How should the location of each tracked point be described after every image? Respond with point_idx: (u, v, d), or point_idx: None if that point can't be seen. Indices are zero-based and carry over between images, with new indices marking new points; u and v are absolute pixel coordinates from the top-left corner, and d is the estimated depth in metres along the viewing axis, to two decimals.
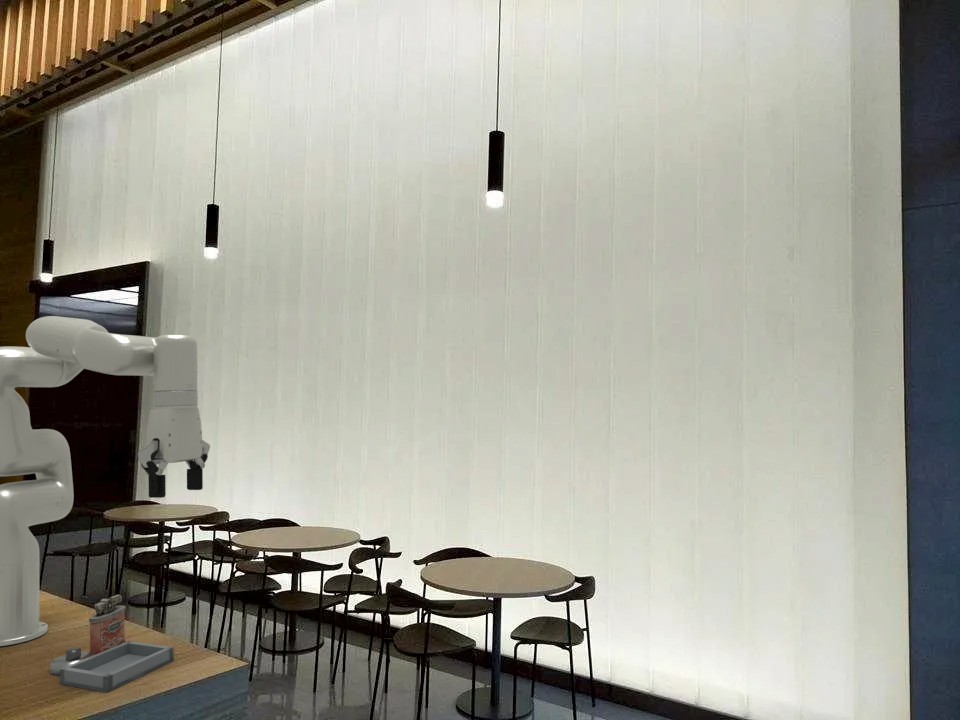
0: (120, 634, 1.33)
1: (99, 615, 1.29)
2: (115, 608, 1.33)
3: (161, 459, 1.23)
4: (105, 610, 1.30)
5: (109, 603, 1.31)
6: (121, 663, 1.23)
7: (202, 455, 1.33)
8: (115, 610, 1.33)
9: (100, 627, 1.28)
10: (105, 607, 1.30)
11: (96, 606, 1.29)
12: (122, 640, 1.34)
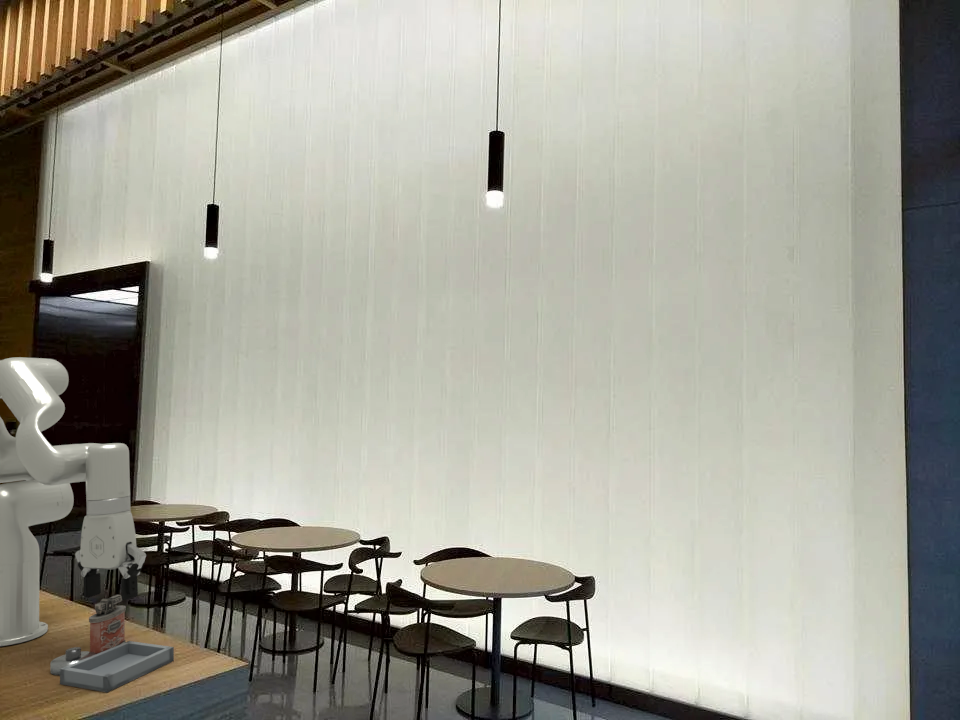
0: (120, 634, 1.33)
1: (99, 615, 1.29)
2: (115, 608, 1.33)
3: (130, 561, 1.31)
4: (105, 610, 1.30)
5: (109, 603, 1.31)
6: (121, 663, 1.23)
7: None
8: (115, 610, 1.33)
9: (100, 627, 1.28)
10: (105, 607, 1.30)
11: (96, 606, 1.29)
12: (122, 640, 1.34)
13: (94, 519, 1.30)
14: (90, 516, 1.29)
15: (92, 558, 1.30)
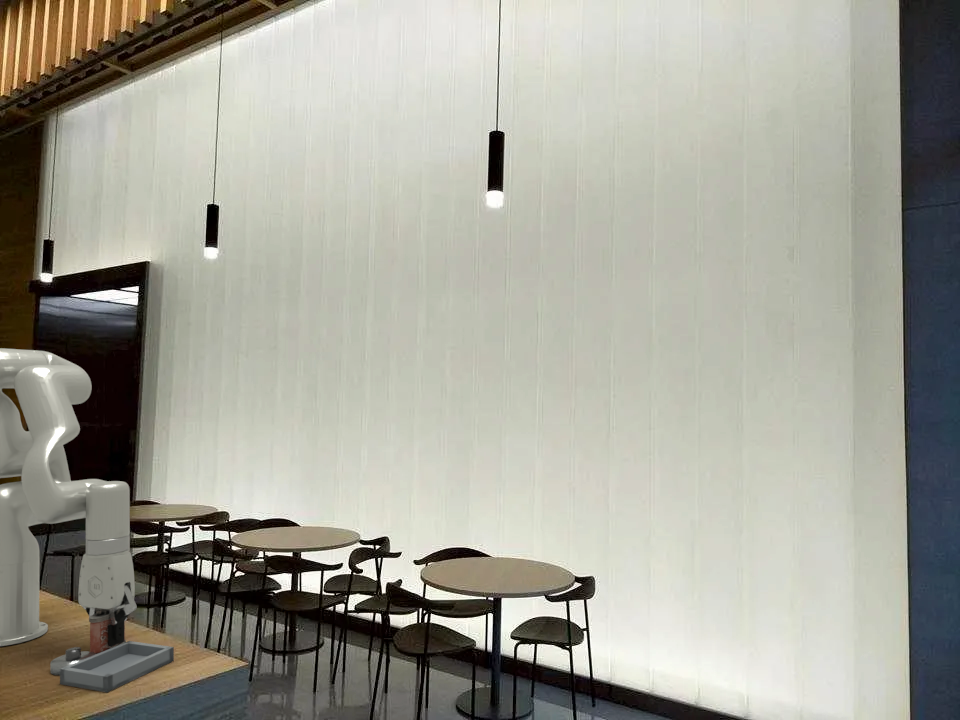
0: None
1: (99, 615, 1.29)
2: None
3: (123, 606, 1.31)
4: (106, 610, 1.30)
5: None
6: (121, 663, 1.23)
7: None
8: None
9: (100, 627, 1.28)
10: None
11: None
12: None
13: (93, 558, 1.30)
14: (89, 556, 1.29)
15: (90, 597, 1.30)
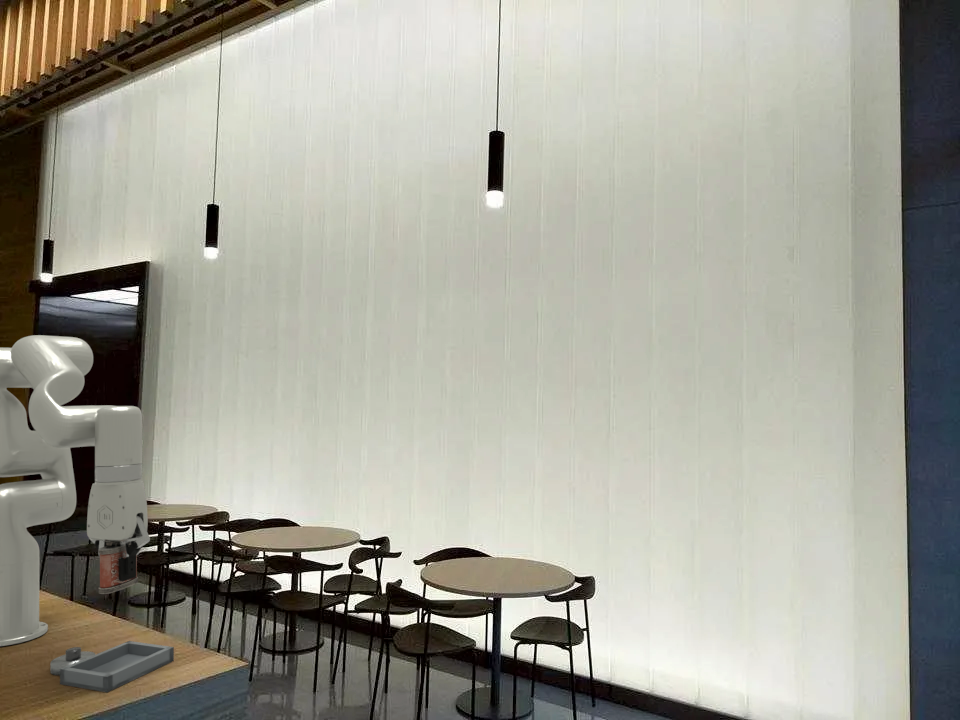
0: None
1: (109, 547, 1.20)
2: None
3: (135, 539, 1.22)
4: (116, 542, 1.21)
5: None
6: (121, 663, 1.23)
7: None
8: None
9: (110, 560, 1.19)
10: None
11: None
12: None
13: (103, 487, 1.20)
14: (99, 483, 1.19)
15: (100, 529, 1.20)
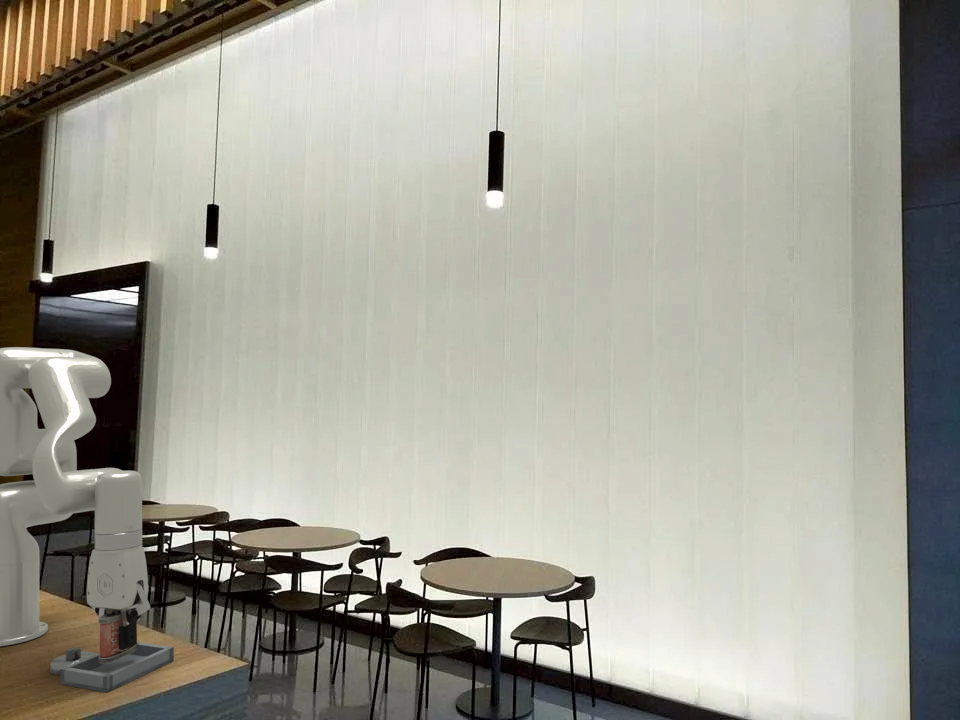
0: None
1: (110, 615, 1.19)
2: None
3: (135, 606, 1.21)
4: (116, 610, 1.20)
5: None
6: (121, 663, 1.23)
7: None
8: None
9: (110, 628, 1.18)
10: None
11: None
12: None
13: (103, 554, 1.20)
14: (99, 551, 1.19)
15: (100, 597, 1.19)
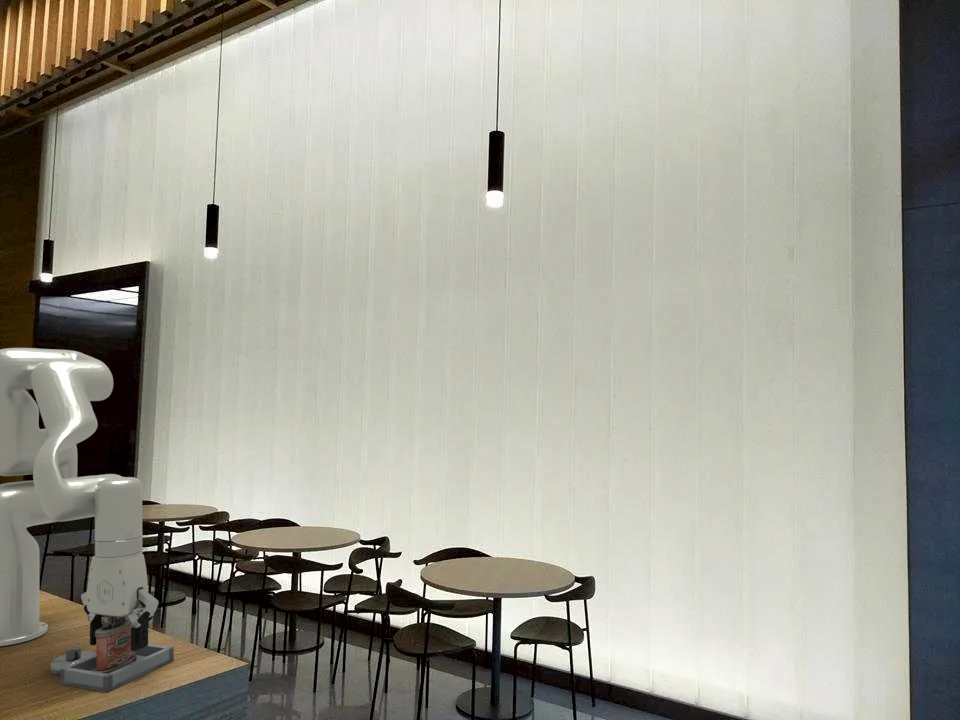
0: (130, 648, 1.23)
1: (106, 629, 1.19)
2: (124, 620, 1.23)
3: (141, 608, 1.21)
4: (113, 623, 1.20)
5: None
6: None
7: None
8: (124, 623, 1.22)
9: (106, 642, 1.18)
10: (113, 619, 1.20)
11: (103, 619, 1.19)
12: (132, 655, 1.24)
13: (103, 561, 1.20)
14: (99, 558, 1.19)
15: (100, 604, 1.19)
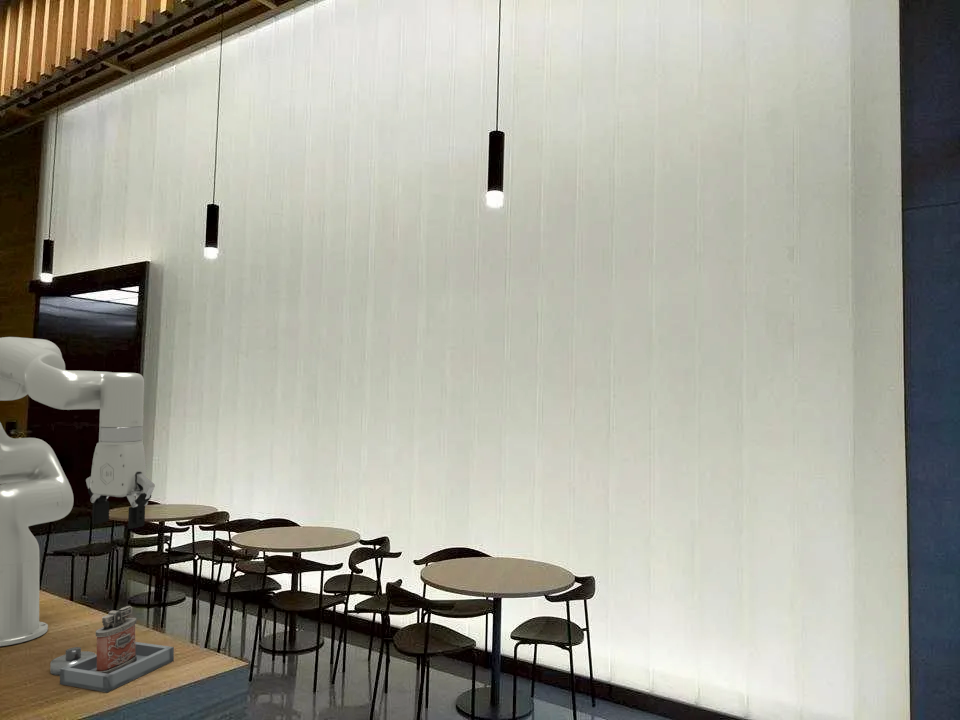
0: (130, 649, 1.23)
1: (106, 629, 1.19)
2: (125, 621, 1.23)
3: (139, 491, 1.31)
4: (114, 623, 1.20)
5: (118, 616, 1.21)
6: None
7: None
8: (124, 623, 1.22)
9: (107, 642, 1.18)
10: (114, 619, 1.20)
11: (103, 619, 1.19)
12: (132, 655, 1.24)
13: (106, 446, 1.30)
14: (102, 443, 1.29)
15: (102, 484, 1.30)
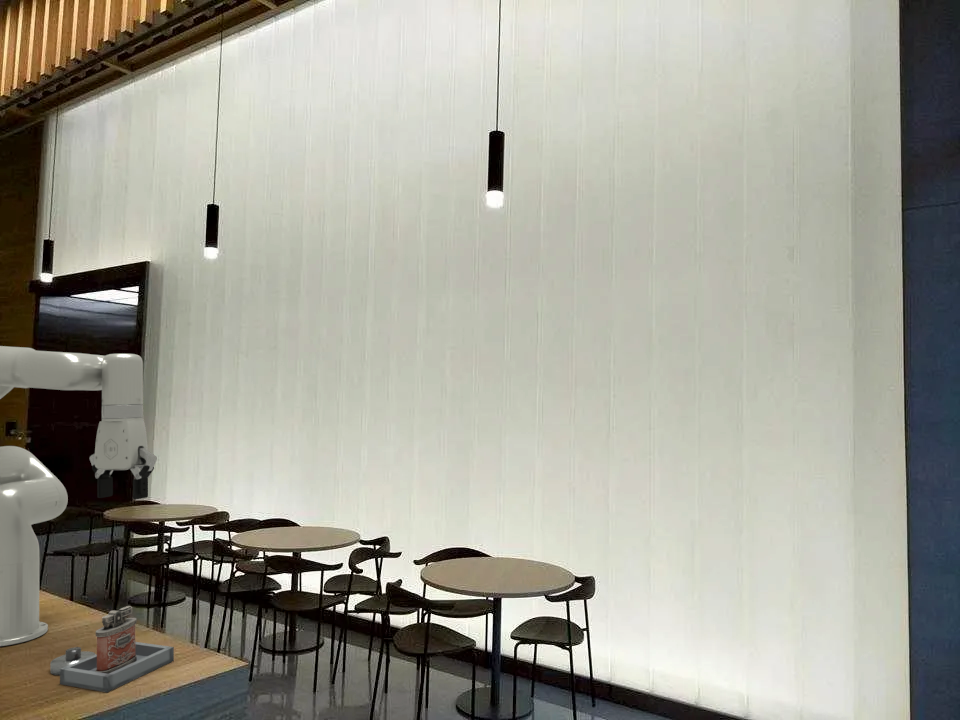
0: (130, 649, 1.23)
1: (106, 628, 1.19)
2: (125, 621, 1.23)
3: (142, 464, 1.39)
4: (114, 623, 1.20)
5: (118, 616, 1.21)
6: None
7: None
8: (124, 623, 1.22)
9: (107, 642, 1.18)
10: (114, 619, 1.20)
11: (103, 619, 1.19)
12: (132, 655, 1.24)
13: (108, 423, 1.38)
14: (105, 420, 1.37)
15: (106, 459, 1.38)
